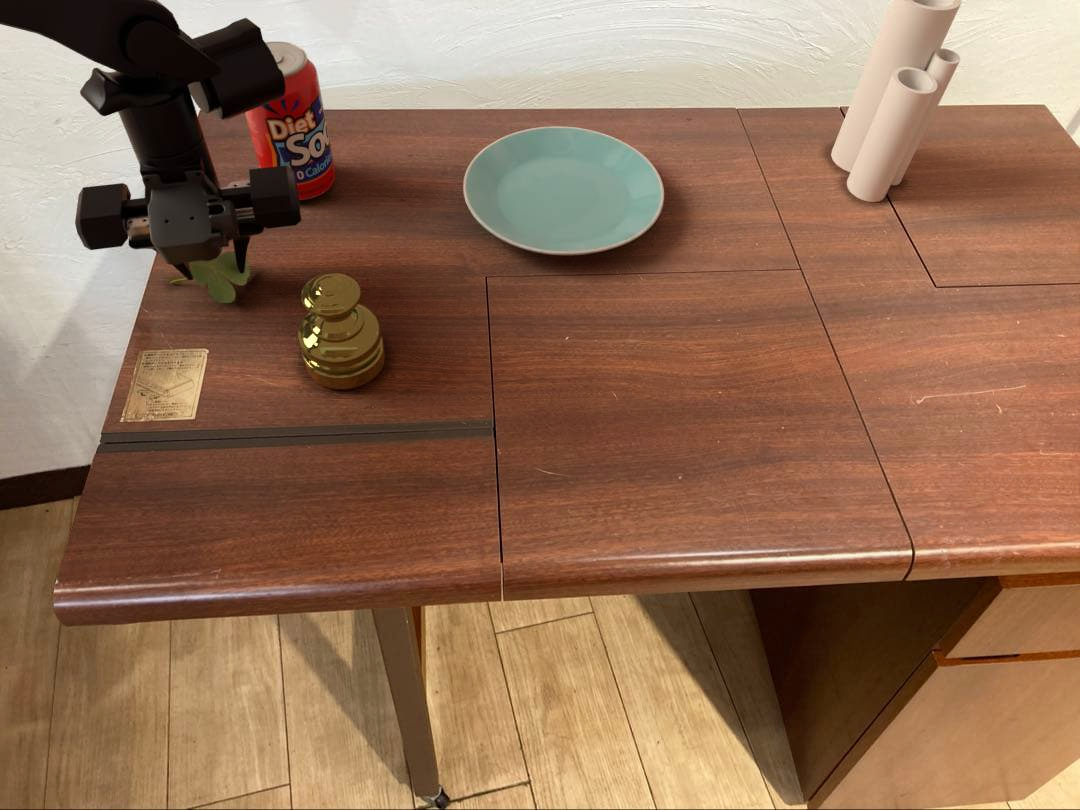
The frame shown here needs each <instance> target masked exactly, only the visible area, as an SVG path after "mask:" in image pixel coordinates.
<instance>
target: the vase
mask: <svg viewBox="0 0 1080 810" xmlns="http://www.w3.org/2000/svg"><path fill="white" fill-rule="evenodd" d="M961 5H962V0H890V2H889V5H888V7H887V10H886V12H885V15H884V18H883V20H882V23H881V26H880V28H879V31H878V33H877V35H876V38H875V40H874V42H873V45H872V48H871V50H870V53H869V56H868V59H867V61H866V64H865V66H864V68H863V70H862V74H861V76H860V78H859V81H858V83H857V85H856V89H855V90H854V93H853V96H852V99H851V101H850V104H849V106H848V109H847V112H846V115H845V117H844V119H843V122H842V124H841V126H840V130H839V131H838V134H837V136H836V138H835V142H834V145H833V147H832V150H831V154H830V156H831V159H832V161H833V163H834V164H835V165H836V166H837V167H838V168H840V169H841V170H844V171H846V172H847V173H849V175H848V178H847V180H846V187H847V190H848V191H849V192H850V194H852V195H853V196H854V197H855V198H857V199H859V200H861V201H865V202H867V203H876V202H877V203H878V202H880V201H882V200H884V198H885V197H886V196H887V194H888V191H889V189H890V187H891V186H897V185H899V184H900V183H901V182H902V180H903V178H904V176H905V174H906V171H907V170H908V167H909V166H910V165H911V164H910V163H911V161H912V160H913V158H914V156H915V153H916V151H917V149H918V147H919V146H920V143H921V141H922V139H923V137H924V136H925V133H926V131H927V129H928V127H929V125H930V123H931V121H932V119H933V116H934V114H935V113H936V110H937V109H938V107H939V105H940V102H941V100H942V98H943V96H944V94H945V92H946V90H947V88H948V86H949V84H950V82H951V80H952V78H953V77H954V76H953V75H954V74H955V72H956V70H957V68H958V66H959V64H960V62H961V57H960V55H959V54H958V53H956V52H955V51H953V50H951V49H948V48H941V47H942V45H943V44H944V42H945V39H946V37H947V35H948V33H949V30H950V28H951V26H952V24H953V22H954V20H955V18H956V15H957V13H958V11H959V9H960V7H961Z"/></svg>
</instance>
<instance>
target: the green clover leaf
mask: <svg viewBox="0 0 1080 810" xmlns="http://www.w3.org/2000/svg"><path fill="white" fill-rule="evenodd" d="M223 248H224V247H220V254H219V256H218V257H217V258H215V259H213V260H210V261H202V260H201V261H193V262H189V265H190V270H191V273H192V275H193V279H194V281H195V282H196V283H197V284H198V285H199V286H200V287H204V286H206V285H207V291H208V294H209V296H210V297H211V298H212V299H213V300H215V301H216V302H217V303H220V304H225V303H226V304H228V303H233V302H234V301H235V299H236V290H235V288H234V286H233V285H232V283H233V284H235V285H237V286H242V287H243V286H245V285H246V284H247V282H248V278H249V277H250V276H251V266H250V262H249V260H248V259H247V258H246V263H245V271H244V273H240V272H239V269H238V267H237V263H236V257H235V251H226V252H223ZM222 252H223V253H222ZM184 281H189V280H188V279H187V278H186V277H185V278H177V279H174V280H171V281H170V282H169V283H170V284H171V285H173V284H175V283H178V282H184ZM229 281H230V282H229Z"/></svg>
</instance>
